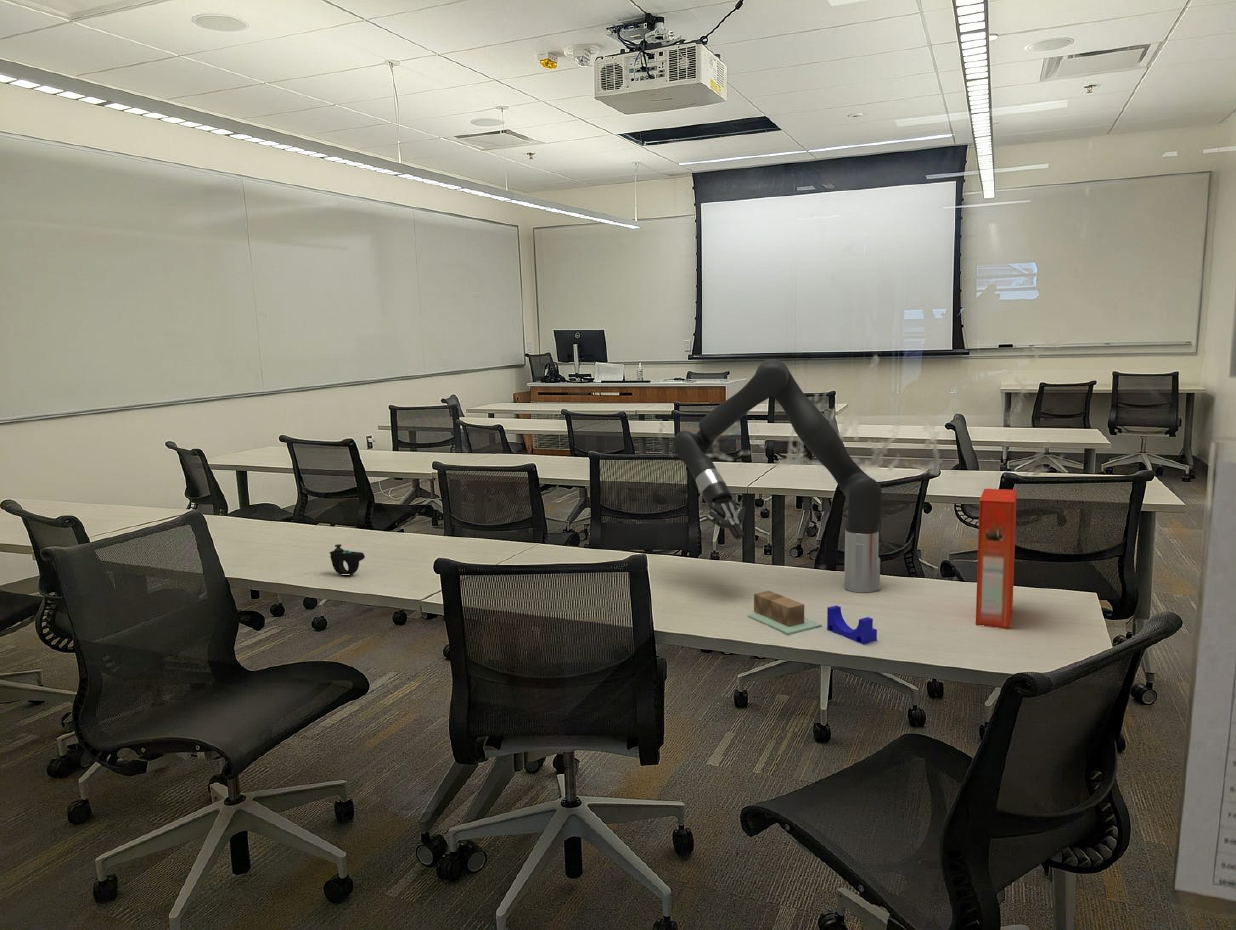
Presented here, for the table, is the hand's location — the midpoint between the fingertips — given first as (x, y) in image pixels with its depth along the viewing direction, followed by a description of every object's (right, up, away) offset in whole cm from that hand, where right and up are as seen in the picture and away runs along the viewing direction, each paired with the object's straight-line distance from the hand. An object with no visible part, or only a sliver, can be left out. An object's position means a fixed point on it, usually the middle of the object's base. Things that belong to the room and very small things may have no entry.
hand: (740, 537), depth 221 cm
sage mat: (+9, -20, -13) cm, 26 cm away
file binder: (+63, -19, -14) cm, 68 cm away
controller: (-121, -16, +40) cm, 129 cm away
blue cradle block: (+24, -22, -24) cm, 40 cm away
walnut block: (+5, -16, -6) cm, 18 cm away
